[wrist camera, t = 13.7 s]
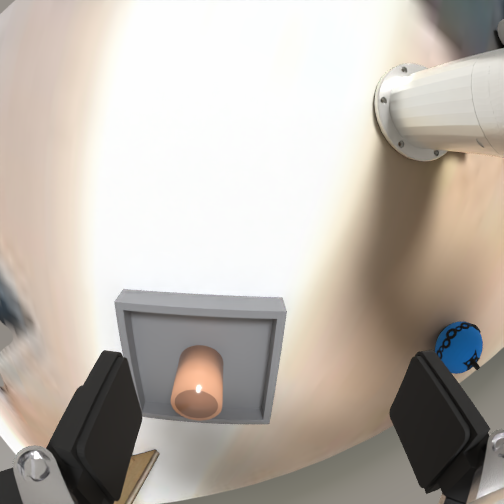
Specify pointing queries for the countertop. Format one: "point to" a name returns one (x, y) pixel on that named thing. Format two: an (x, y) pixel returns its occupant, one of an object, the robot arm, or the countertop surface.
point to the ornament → (459, 347)
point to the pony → (501, 31)
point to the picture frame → (136, 475)
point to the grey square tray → (207, 334)
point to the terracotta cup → (198, 383)
